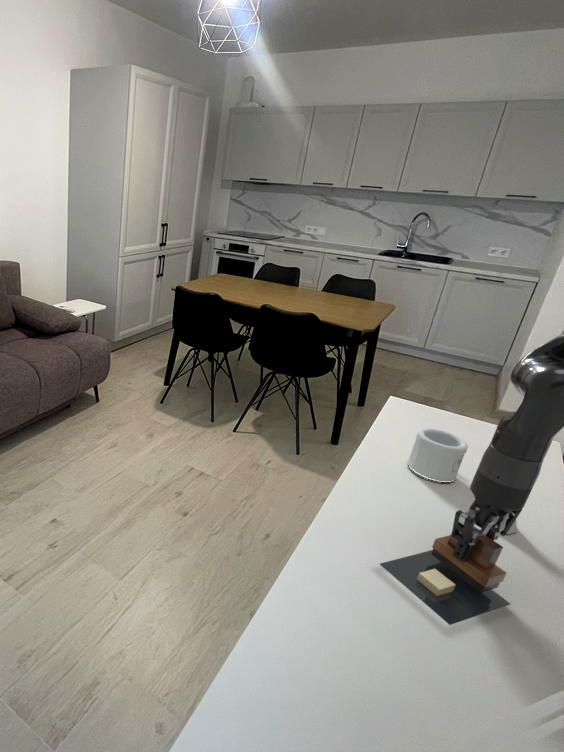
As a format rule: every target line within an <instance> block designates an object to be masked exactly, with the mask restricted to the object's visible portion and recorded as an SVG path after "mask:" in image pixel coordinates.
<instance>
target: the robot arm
mask: <svg viewBox="0 0 564 752" xmlns="http://www.w3.org/2000/svg"><path fill="white" fill-rule="evenodd" d="M510 384H511V386H512V387H513V389H514V390H515V391H516V392H517V393H518V394H519V395H521V396H522V397H523V399H522V401H521V403H520V405H519V407H518V408H517V410H516V411H509V412H507V413H505V414H504V415H502V417H501V418H500V420H499V422H498V423H497V426H496V428H495V431H494V433H493V436H492V438H491V440H490V442H489V444H488V446H487V447H486V449H485V451H484V452H483V455H482V457H481V459H480V461H479V464H478V466H477V468H476V471H475V474H474V476H473V478H472V480H471V483H470V486H469V489H470V492H471V493H472V495H473V497H474V501H473V502H472V503H471V504H470V505H469V508H468V510H466V511H465V512H464V511H463V510H461V509H458V510H457V511H456V512H455V514H454V519H453V524H452V531H451V533H452V537H454V538H455V539H457V540H458V543H457V545H456V548H455V550H454V552H453V555H454V557H456V558H457V559H458V560H460V561H461V562H467V561H468V559H469V557H470V555H471V553H472V550H473V548H474V545H475V544H476V542H477V541H478V539H479V538H480V537H481V536H482V537H484V536H485V535H486V536H487V537H489V538H490V539H492V540H493V541H495V542H497V540H499V538H500V536H502V537H505V536H506V535H508V534H507V532H508V531H509V529H510V528H511V526H512V525H513V523H514V522H515V520H516V521H517V518H519V516H520V514H521V512H522V511H523V509H524V507H525V505H526V503H527V501H528V499H529V496H530V495H531V492H532V490H533V488H534V486H535V484H536V482H537V480H538V478H539V475H540V474H541V470H542V466H543V462H544V460H545V458H546V456H547V454H548V452H549V450H550V448H551V446H552V443H553V441H554V439H555V437H556V436H557V434H559V433H560V432H561V430H563V428H564V332H563V333H561V334H559V335H557V336H554V337H553V338H551V339H550V340H548V341H547V342H546V341H545V342H544V343H543V344H541V345H540V346H538V347H536V348H534V349H533V350H532V351H531V350H530V351H529V352H528V353H527V354H526V355H524V356H523V357H522V358H521V359H520V360H519V361H518V362H517V363H516V364H515V366H514V367H513V369H512V370H511V373H510ZM477 527H478V528H477ZM472 532H473V533H474V535H473V537H472V538H471V535H472Z"/></svg>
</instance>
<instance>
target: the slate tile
mask: <svg viewBox="0 0 564 752" xmlns="http://www.w3.org/2000/svg"><path fill="white" fill-rule="evenodd" d="M432 551H433V549H431V550H430V549H429V550H426V551H423V552H419V553H416V554H411V555H409V556H403V557H399V558H396V559H392V560H388V561H384V562H381V563H379V565H380V566H381V567H382V568H383V569H384V570H385V571H387V572H388V573H389V574H390V575H391V576H393V577H394V578H395V579H396V580H397V581H398V582H399V583H401V585H403V586H404V587H405V588H406V589H407V590H408V591H410V592H411V593H412V594H413V595H415V597H417V598H418V599H419V600H420V601H422V602H423V603H424V604H425V605H426V606H427V607H428V608H429V609H431V610H432V611H433V612H434V613H435V614H436V615H438V617H440V618H441V619H442V620H443V621H444V622H445V623H447V624H448V625H449V626H451V625H453V624H457V623H460V622H463V621H465V620H469V619H472V618H474V617H477V616H480V615H482V614H486V613H489V612H493V611H494V610H499V609H501V608H504V607H506V606H510V605H511V602H509V601H508V600H507V599H505V598H504V597H503V596H501V595H500V594H498V593H497V592H496V591H494V589H492V590H488V591H485V592H482V593H481V592H480V591H479V590H477V589H476V588H475V587H473V586H472V585H471V584H469V583H468V582H467V581H465V580H464V579H463V578H461V577H460V576H459V575H458V574H456V573H455V572H454V571H452V570H451V569H450V568H448V567H447V566H446V565H444V564H443V563H442V562H440V561H439V560H438V559H437V558H435V557H434V556H433V555H431V553H432ZM432 569H436V570H437V571H439V572H440V573H441V574H443V575H444V576H445V577H446V578H448V579H449V580H450V581H452V582H453V583H454V584H455V588H454V590H453V591H452V592H449V593H445V594H442V595H439V596H436V595H435V594H434V593H433V592H431V591H430V590H429V589H428V588H427V587H425V586H424V585H423V584H422V583H421V582H419V581H418V580H417V578H418V575H419V573H421V572H425V571H428V570H432Z"/></svg>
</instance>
